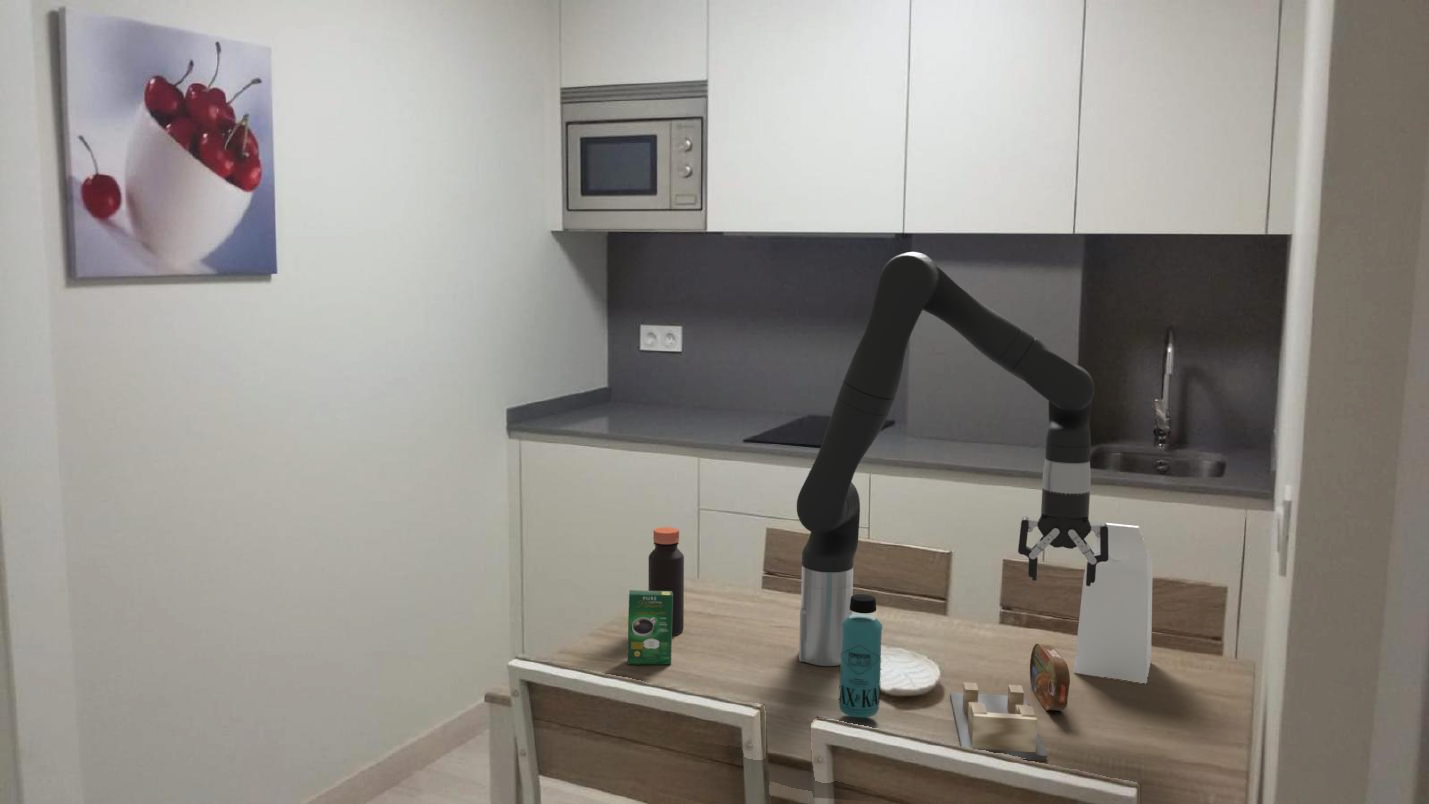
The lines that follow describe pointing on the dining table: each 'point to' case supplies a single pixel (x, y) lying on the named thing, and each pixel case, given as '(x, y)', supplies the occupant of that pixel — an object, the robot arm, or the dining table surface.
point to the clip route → (997, 722)
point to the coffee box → (650, 627)
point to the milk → (1117, 610)
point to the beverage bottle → (860, 659)
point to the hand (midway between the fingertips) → (1061, 582)
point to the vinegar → (668, 571)
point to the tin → (1049, 677)
